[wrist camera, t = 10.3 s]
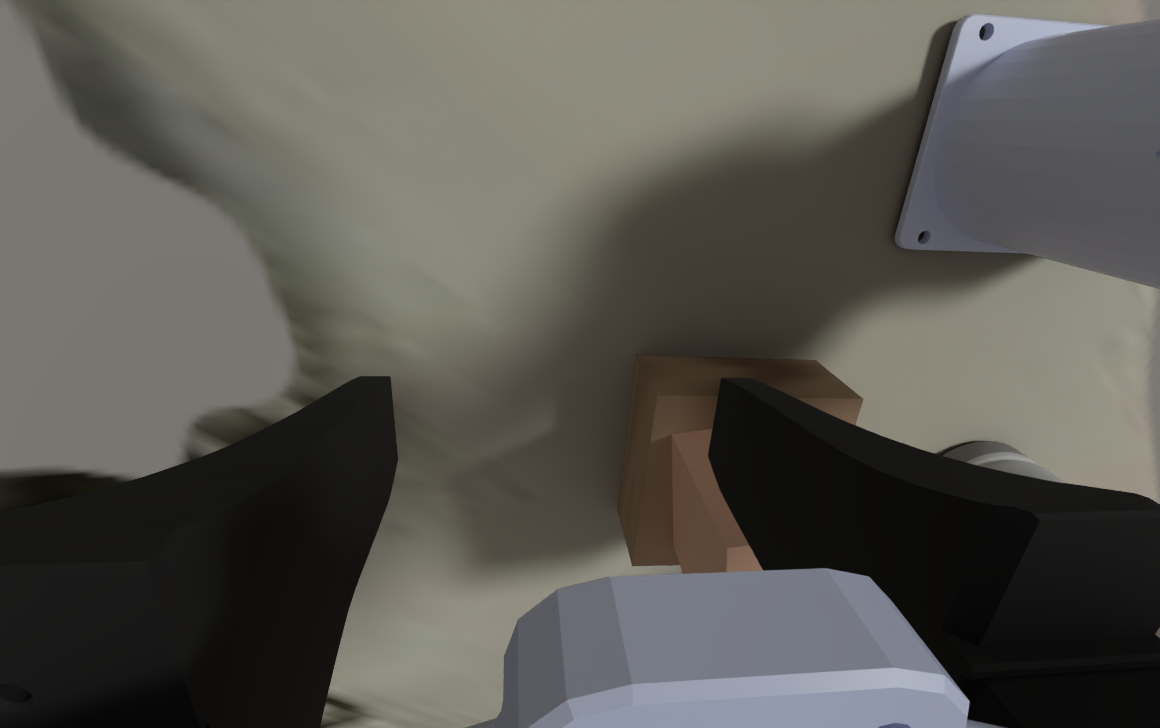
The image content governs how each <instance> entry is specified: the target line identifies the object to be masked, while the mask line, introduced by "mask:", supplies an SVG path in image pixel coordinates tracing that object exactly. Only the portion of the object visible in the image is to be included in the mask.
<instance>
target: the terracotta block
mask: <svg viewBox="0 0 1160 728" xmlns="http://www.w3.org/2000/svg"><path fill="white" fill-rule="evenodd" d="M711 434H712V429H708V430H700V431H693V432H685V433H677V434H672V488H673V542H674V550H675V553H676V555H677V558H678V561H679V564H680V566H681V569H682V572H683V574H692V573H717V572H743V571H763V570H762V568H761V566H760V564H759V562H758V560H757V559H756V557H755V555H754V553H753V551H752V549H751V548H750V546H749V544H748V542H747V540H746V538H745V537H744V535H743V533H742V531H741V529H740V527H739V526H738V524H737V522H736V520H735V518H734V516H733V514H732V513H731V511H730V509H729V507H728V505H727V503H726V501H725V499H724V497H723V495H722V493H721V492H720V489H719V486H718V484H717V481H716V478H715V476H714V473H713V470H712V467H711V464H710V461H709V458H708V451H709V445H710V440H711Z"/></svg>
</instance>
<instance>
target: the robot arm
mask: <svg viewBox="0 0 1160 728" xmlns="http://www.w3.org/2000/svg"><path fill="white" fill-rule="evenodd" d="M982 26H984V28H985V34H984V36H983V38H982V39H980V37H979V31H980V29H981V27H982ZM923 231H924V236H923V238H922V239H921V240H920V241H919V242H918V236H919V235H920V233H921V232H923ZM895 242H896V244H897V245H898V246H899V247H902V248H905V249H911V250H940V251H970V252H999V253H1027V254H1031V255H1035V256H1038V257H1042V258H1046V259H1050V260H1053V261H1057V262H1061V263H1064V264H1068V265H1072V266H1076V267H1079V268H1083V269H1087V270H1091V271H1094V272H1098V273H1102V274H1105V275H1109V276H1113V277H1117V278H1120V279H1124V280H1128V281H1132V282H1135V283H1139V284H1143V285H1147V286H1150V287H1154V288H1158V289H1160V19H1156V20H1149V21H1143V22H1136V23H1130V24H1123V25H1116V26H1106V25H1095V24H1084V23H1073V22H1062V21H1051V20H1040V19H1029V18H1018V17H1007V16H996V15H985V14H973V15H968V16H965V17H963V18H961V19H960V20H959V21H958V22H957V23H956V25H955V27H954V29H953V31H952V35H951V38H950V42H949V46H948V49H947V53H946V56H945V60H944V63H943V67H942V70H941V74H940V78H939V81H938V85H937V88H936V92H935V95H934V99H933V102H932V106H931V110H930V113H929V117H928V120H927V124H926V127H925V131H924V134H923V138H922V142H921V145H920V149H919V152H918V156H917V159H916V163H915V166H914V170H913V174H912V177H911V181H910V184H909V188H908V191H907V195H906V199H905V202H904V206H903V209H902V213H901V216H900V220H899V223H898V227H897V231H896V234H895ZM708 458H709V461H710V464H711V467H712V470H713V473H714V476H715V478H716V481H717V484H718V486H719V489H720V492H721V493H722V495H723V497H724V499H725V501H726V503H727V505H728V507H729V509H730V511H731V513H732V514H733V516H734V518H735V520H736V522H737V524H738V526H739V527H740V529H741V531H742V533H743V535H744V537H745V538H746V540H747V542H748V544H749V546H750V548H751V549H752V551H753V553H754V555H755V557H756V559H757V560H758V562H759V564H760V566H761V568H762V570H763V571H743V572H717V573H692V574H666V575H641V576H616V577H605V578H601V579H597V580H592V581H588V582H584V583H580V584H576V585H572V586H567V587H563V588H560V589H557V590H556V591H555V592H553V593H552V594H551V595H549V596H548V597H547V598H545V599H544V600H543V601H541V602H540V603H539V604H538V605H536V606H535V607H534V608H532V609H531V610H530V611H528V612H527V613H526V614H524V615H523V616H522V617H521V618H519V619H518V621H517V624H516V626H515V629H514V632H513V634H512V637H511V640H510V642H509V645H508V647H507V650H506V653H505V655H504V690H503V703H502V709H501V712H500V714H499V715H498V717H497V718H495V719H492V720H489V721H485V722H482V723H479V724H475V725H472V726H469V727H466V728H1160V638H1159V637H1158V636H1157V635H1155V634H1156V632H1157V631H1158V629H1159V628H1160V504H1158V503H1156V502H1155V501H1153V500H1151V499H1150V498H1147V497H1144V496H1142V495H1138V494H1135V493H1129V492H1122V491H1115V490H1108V489H1101V488H1095V487H1088V486H1081V485H1074V484H1067V483H1060V482H1054V481H1049V480H1043V479H1038V478H1033V477H1028V476H1023V475H1018V474H1013V473H1008V472H1004V471H999V470H995V469H991V468H986V467H982V466H978V465H974V464H970V463H967V462H963V461H959V460H955V459H952V458H948V457H944V456H941V455H937V454H934V453H931V452H927V451H924V450H921V449H918V448H915V447H912V446H909V445H906V444H903V443H900V442H897V441H894V440H891V439H889V438H886V437H883V436H880V435H878V434H875V433H873V432H870V431H867V430H865V429H863V428H860V427H858V426H856V425H853V424H851V423H849V422H846V421H844V420H841V419H839V418H837V417H835V416H833V415H830V414H828V413H826V412H824V411H822V410H820V409H817V408H815V407H813V406H811V405H809V404H807V403H805V402H803V401H801V400H799V399H796V398H794V397H792V396H790V395H788V394H786V393H784V392H782V391H780V390H777V389H775V388H773V387H771V386H768V385H766V384H764V383H761V382H759V381H756V380H753V379H750V378H721V382H720V388H719V393H718V399H717V405H716V411H715V416H714V422H713V428H712V434H711V440H710V445H709V451H708ZM397 462H398V455H397V444H396V433H395V422H394V411H393V400H392V389H391V379H390V376H360V377H357V378H355V379H353V380H351V381H349V382H347V383H345V384H344V385H342V386H340V387H338V388H337V389H335V390H333V391H332V392H330V393H328V394H327V395H325V396H323V397H321V398H320V399H318V400H316V401H315V402H313V403H311V404H310V405H308V406H306V407H304V408H303V409H301V410H299V411H298V412H296V413H294V414H292V415H290V416H288V417H286V418H284V419H283V420H281V421H279V422H277V423H275V424H273V425H271V426H269V427H267V428H266V429H264V430H262V431H260V432H258V433H256V434H254V435H252V436H250V437H248V438H245V439H243V440H241V441H239V442H237V443H234V444H232V445H230V446H227V447H225V448H222V449H220V450H218V451H215V452H213V453H210V454H208V455H206V456H203V457H200V458H198V459H195V460H192V461H189V462H186V463H183V464H180V465H177V466H174V467H171V468H169V469H166V470H163V471H160V472H157V473H154V474H151V475H148V476H145V477H142V478H139V479H135V480H132V481H129V482H125V483H121V484H118V485H114V486H111V487H107V488H104V489H100V490H96V491H92V492H88V493H84V494H80V495H76V496H72V497H68V498H64V499H60V500H55V501H51V502H47V503H42V504H37V505H32V506H27V507H22V508H17V509H12V510H7V511H2V512H0V728H320V725H321V720H322V716H323V711H324V707H325V703H326V698H327V694H328V690H329V686H330V682H331V677H332V673H333V669H334V665H335V661H336V656H337V653H338V649H339V645H340V641H341V637H342V633H343V629H344V625H345V622H346V618H347V614H348V610H349V607H350V604H351V601H352V598H353V594H354V591H355V588H356V586H357V583H358V580H359V578H360V575H361V573H362V570H363V567H364V565H365V562H366V560H367V557H368V554H369V552H370V549H371V546H372V544H373V541H374V539H375V536H376V533H377V531H378V528H379V526H380V523H381V520H382V517H383V515H384V512H385V509H386V507H387V504H388V501H389V498H390V494H391V490H392V485H393V481H394V476H395V471H396V466H397Z"/></svg>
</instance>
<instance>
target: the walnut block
mask: <svg viewBox="0 0 1160 728" xmlns="http://www.w3.org/2000/svg"><path fill="white" fill-rule="evenodd" d="M721 378H750V379H753V380H756V381H759V382H761V383H764V384H766V385H768V386H771V387H773V388H775V389H777V390H780V391H782V392H784V393H786V394H788V395H790V396H792V397H794V398H796V399H799V400H801V401H803V402H805V403H807V404H809V405H811V406H813V407H815V408H817V409H820V410H822V411H824V412H826V413H828V414H830V415H833V416H835V417H837V418H839V419H841V420H844V421H846V422H849V423H851V424H853V425H855V424H856V421H857V418H858V414H859V411H860V408H861V405H862V402H863V398H861V397H860V396H859V395H858V394H856V393H855V392H854V391H853V390H852V389H850V388H849V387H848V386H847V385H845V384H844V383H843V382H842V381H840V380H839V379H838V378H837V377H836V376H834V375H833V374H832V373H831V372H829V371H828V370H827V369H826V368H824V367H823V366H822V365H821V364H820V363H818V362H817V361H816V360H792V359H756V358H720V357H685V356H649V355H637V358H636V366H635V374H634V382H633V390H632V398H631V405H630V413H629V421H628V429H627V437H626V445H625V453H624V461H623V469H622V477H621V485H620V493H619V501H618V513H619V517H620V521H621V525H622V529H623V532H624V536H625V540H626V544H627V548H628V552H629V555H630V559H631V563H632V566H656V565H680V564H679V561H678V558H677V555H676V553H675V550H674V542H673V488H672V434H677V433H685V432H693V431H700V430H708V429H712V428H713V422H714V416H715V411H716V405H717V399H718V393H719V388H720V382H721Z"/></svg>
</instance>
